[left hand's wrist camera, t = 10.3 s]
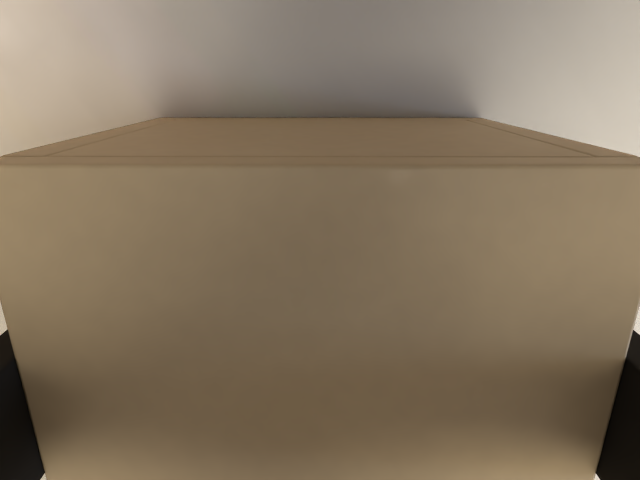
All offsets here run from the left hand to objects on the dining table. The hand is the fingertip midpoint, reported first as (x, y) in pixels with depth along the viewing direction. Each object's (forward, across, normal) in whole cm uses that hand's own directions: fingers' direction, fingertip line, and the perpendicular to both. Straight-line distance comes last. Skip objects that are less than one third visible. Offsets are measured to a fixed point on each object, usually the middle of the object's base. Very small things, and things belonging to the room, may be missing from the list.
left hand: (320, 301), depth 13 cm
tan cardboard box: (+4, 0, -4) cm, 6 cm away
